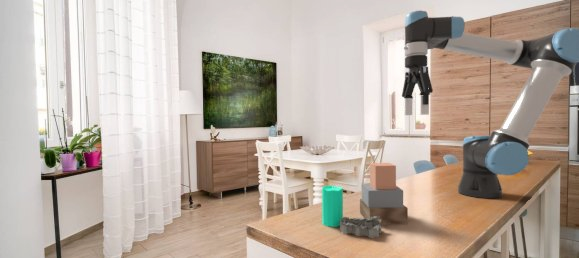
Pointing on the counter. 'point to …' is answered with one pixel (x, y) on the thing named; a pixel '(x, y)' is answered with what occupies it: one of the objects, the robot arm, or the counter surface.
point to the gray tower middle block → (382, 197)
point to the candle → (332, 205)
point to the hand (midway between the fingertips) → (415, 115)
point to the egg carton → (361, 226)
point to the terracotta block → (382, 176)
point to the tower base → (385, 214)
